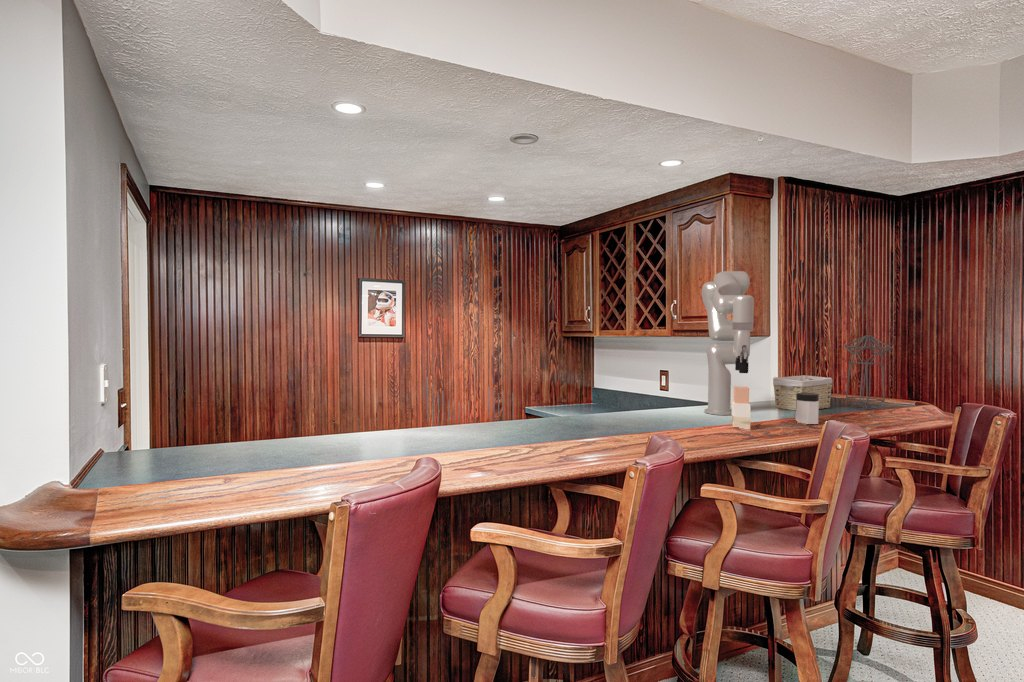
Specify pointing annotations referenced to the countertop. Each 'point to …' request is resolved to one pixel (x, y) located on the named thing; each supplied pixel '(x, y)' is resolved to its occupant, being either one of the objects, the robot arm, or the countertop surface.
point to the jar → (807, 408)
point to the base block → (741, 422)
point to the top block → (741, 395)
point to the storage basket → (801, 390)
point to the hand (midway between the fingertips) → (741, 371)
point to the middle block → (741, 410)
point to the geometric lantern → (866, 368)
